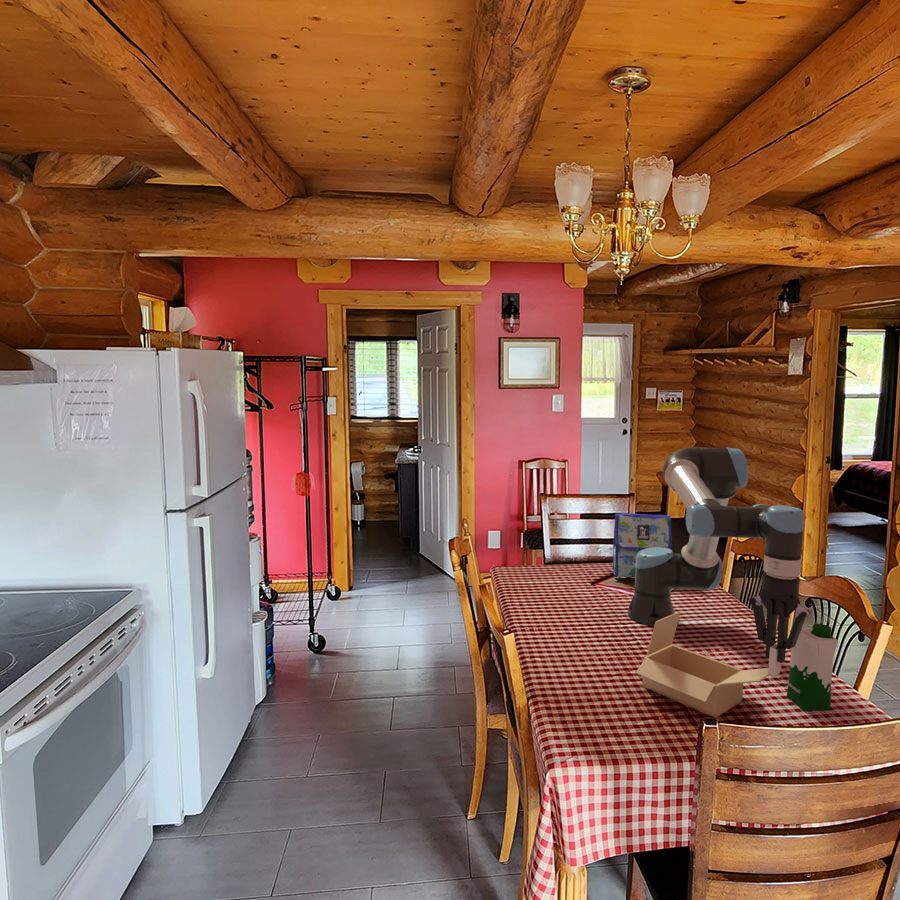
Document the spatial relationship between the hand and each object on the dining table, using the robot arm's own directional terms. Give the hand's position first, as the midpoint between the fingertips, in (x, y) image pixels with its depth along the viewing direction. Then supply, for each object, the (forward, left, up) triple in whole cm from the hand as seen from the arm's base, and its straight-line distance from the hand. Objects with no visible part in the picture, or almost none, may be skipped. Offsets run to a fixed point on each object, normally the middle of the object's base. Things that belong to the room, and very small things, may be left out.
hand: (774, 673), depth 150 cm
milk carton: (+1, +19, -13) cm, 23 cm away
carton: (-20, 0, -13) cm, 24 cm away
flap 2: (-10, 0, -5) cm, 11 cm away
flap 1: (-30, 0, -5) cm, 30 cm away
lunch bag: (-85, +74, -13) cm, 114 cm away
